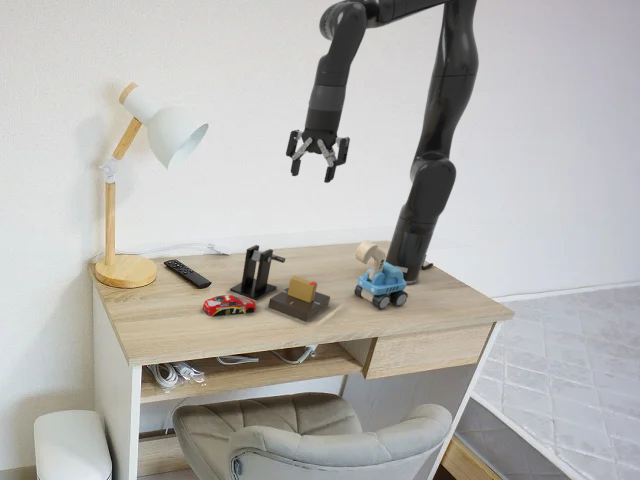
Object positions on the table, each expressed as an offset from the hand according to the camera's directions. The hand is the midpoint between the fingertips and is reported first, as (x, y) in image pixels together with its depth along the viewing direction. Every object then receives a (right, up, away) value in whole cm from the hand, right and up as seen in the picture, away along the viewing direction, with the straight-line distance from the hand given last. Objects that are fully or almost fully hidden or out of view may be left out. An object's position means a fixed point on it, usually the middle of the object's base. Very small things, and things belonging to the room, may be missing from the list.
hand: (310, 178), depth 125 cm
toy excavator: (+17, -30, +6) cm, 35 cm away
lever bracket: (-12, -27, +10) cm, 31 cm away
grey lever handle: (-9, -19, +8) cm, 23 cm away
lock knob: (-2, -29, 0) cm, 29 cm away
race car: (-20, -33, 0) cm, 38 cm away
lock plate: (-2, -32, +2) cm, 32 cm away
